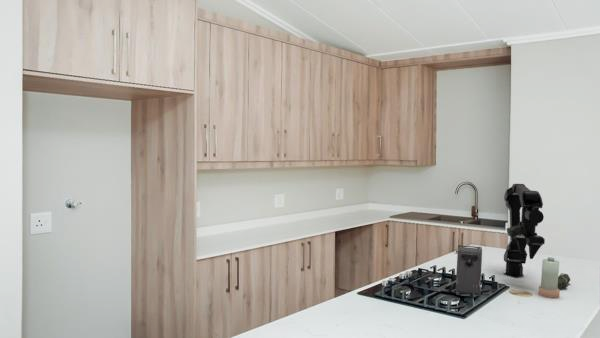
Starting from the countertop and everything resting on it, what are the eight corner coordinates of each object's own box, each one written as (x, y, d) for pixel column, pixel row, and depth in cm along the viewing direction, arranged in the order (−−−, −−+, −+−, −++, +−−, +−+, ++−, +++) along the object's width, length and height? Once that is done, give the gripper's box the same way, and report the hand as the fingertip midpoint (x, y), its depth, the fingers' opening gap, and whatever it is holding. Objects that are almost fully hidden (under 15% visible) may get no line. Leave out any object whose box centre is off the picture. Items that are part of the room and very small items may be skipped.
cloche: (539, 288, 204) (541, 258, 204) (542, 285, 209) (544, 255, 209) (555, 291, 201) (557, 260, 200) (558, 288, 206) (560, 258, 205)
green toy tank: (570, 284, 227) (565, 293, 212) (557, 282, 230) (551, 291, 215) (571, 270, 227) (566, 278, 212) (558, 268, 230) (552, 276, 215)
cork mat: (504, 292, 208) (504, 291, 208) (516, 289, 213) (516, 288, 213) (525, 298, 200) (525, 297, 200) (537, 295, 206) (537, 294, 206)
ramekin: (534, 294, 206) (534, 287, 206) (544, 292, 210) (544, 284, 210) (553, 300, 200) (553, 292, 200) (563, 297, 204) (563, 289, 204)
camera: (479, 297, 214) (481, 249, 218) (480, 298, 198) (482, 246, 202) (452, 294, 217) (454, 247, 221) (450, 295, 202) (453, 243, 206)
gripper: (501, 216, 228) (498, 251, 229) (519, 223, 209) (516, 260, 210) (526, 217, 228) (523, 251, 229) (546, 224, 209) (543, 261, 210)
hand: (526, 256), depth 220 cm, fingers open, 9 cm apart
